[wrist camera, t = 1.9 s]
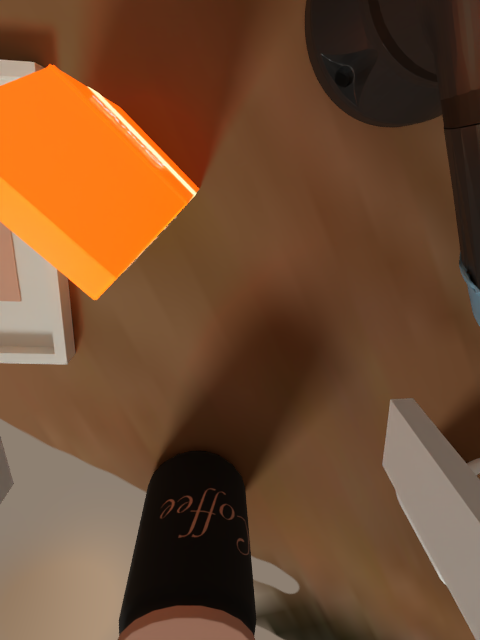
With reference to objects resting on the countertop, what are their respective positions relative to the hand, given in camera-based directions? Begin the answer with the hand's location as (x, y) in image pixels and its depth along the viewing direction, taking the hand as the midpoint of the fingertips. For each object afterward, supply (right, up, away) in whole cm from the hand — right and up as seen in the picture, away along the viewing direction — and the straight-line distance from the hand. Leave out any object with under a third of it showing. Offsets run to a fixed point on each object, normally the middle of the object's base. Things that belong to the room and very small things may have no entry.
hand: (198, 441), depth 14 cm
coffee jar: (-3, -14, +32) cm, 36 cm away
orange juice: (-8, +16, +21) cm, 27 cm away
